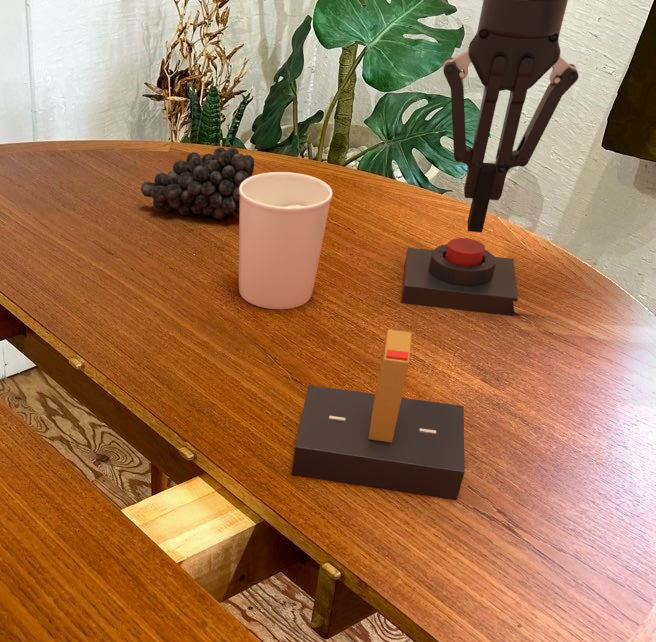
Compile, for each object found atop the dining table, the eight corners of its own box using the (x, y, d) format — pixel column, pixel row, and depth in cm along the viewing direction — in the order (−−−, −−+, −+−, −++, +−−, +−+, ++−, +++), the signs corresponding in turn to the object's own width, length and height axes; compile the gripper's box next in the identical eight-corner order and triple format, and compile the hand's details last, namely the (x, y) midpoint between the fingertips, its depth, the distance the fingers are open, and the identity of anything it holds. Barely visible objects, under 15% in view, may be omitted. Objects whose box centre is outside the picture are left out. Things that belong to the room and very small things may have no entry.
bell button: (481, 254, 109) (484, 239, 108) (481, 270, 106) (485, 255, 105) (444, 250, 109) (448, 236, 108) (444, 265, 106) (447, 251, 105)
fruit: (137, 144, 119) (258, 148, 117) (147, 144, 127) (261, 148, 125) (135, 217, 122) (253, 222, 120) (144, 212, 130) (256, 217, 128)
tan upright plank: (372, 407, 86) (388, 326, 81) (395, 411, 86) (412, 329, 80) (368, 439, 82) (384, 356, 77) (392, 443, 82) (409, 359, 77)
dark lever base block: (456, 432, 88) (464, 404, 86) (456, 499, 81) (465, 470, 79) (304, 411, 91) (308, 383, 89) (291, 474, 83) (295, 445, 81)
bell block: (508, 276, 112) (517, 243, 110) (512, 316, 105) (522, 283, 102) (404, 264, 115) (410, 232, 112) (400, 303, 107) (407, 270, 105)
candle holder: (215, 283, 111) (221, 181, 103) (287, 266, 114) (298, 165, 106) (262, 321, 104) (272, 214, 96) (336, 301, 107) (351, 197, 100)
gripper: (456, -10, 88) (412, 235, 103) (607, -4, 86) (539, 246, 101) (456, -27, 94) (414, 208, 109) (597, -21, 91) (535, 218, 106)
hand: (474, 226), depth 105 cm, fingers closed
